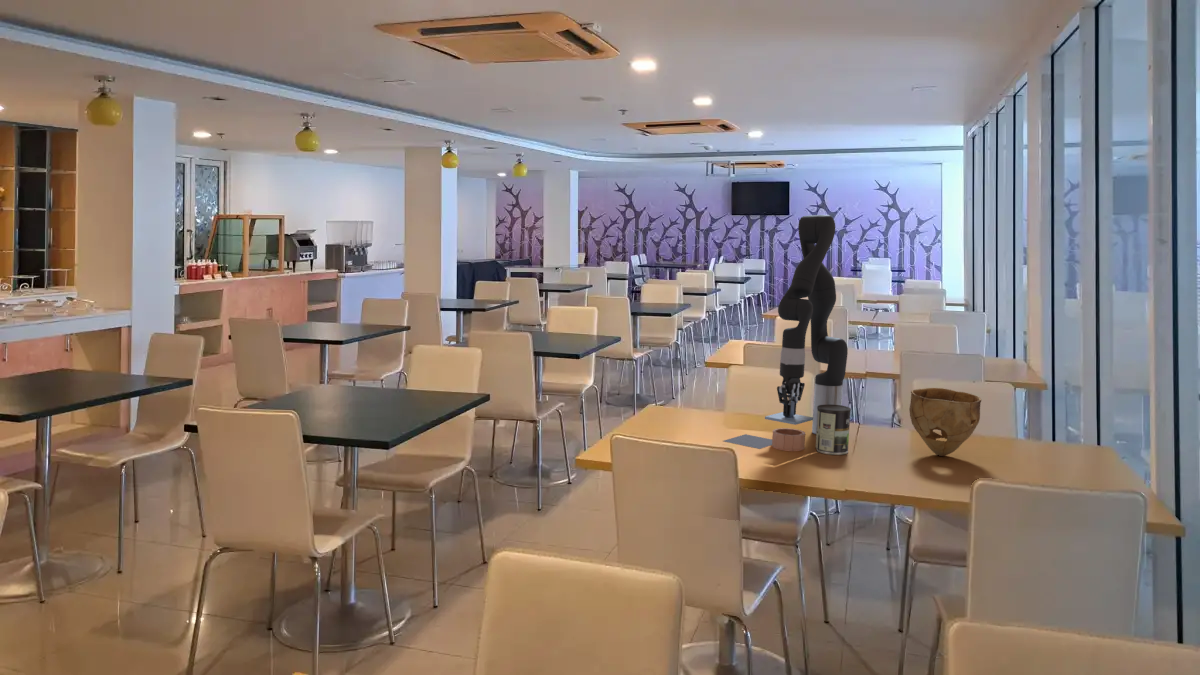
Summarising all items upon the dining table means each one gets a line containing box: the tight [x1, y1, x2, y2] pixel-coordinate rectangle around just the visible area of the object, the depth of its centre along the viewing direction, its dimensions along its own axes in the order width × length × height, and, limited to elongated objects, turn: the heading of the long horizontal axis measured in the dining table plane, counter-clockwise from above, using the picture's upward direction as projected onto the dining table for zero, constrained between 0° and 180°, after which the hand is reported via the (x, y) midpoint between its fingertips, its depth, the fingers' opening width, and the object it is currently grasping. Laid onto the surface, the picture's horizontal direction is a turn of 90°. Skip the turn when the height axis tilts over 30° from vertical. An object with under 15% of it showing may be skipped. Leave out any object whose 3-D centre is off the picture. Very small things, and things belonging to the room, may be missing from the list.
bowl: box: [908, 387, 982, 457], centre depth 292 cm, size 21×20×20 cm
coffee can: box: [815, 404, 852, 456], centre depth 295 cm, size 10×10×14 cm
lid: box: [764, 401, 813, 426], centre depth 295 cm, size 11×11×6 cm
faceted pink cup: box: [771, 427, 806, 452], centre depth 296 cm, size 10×10×6 cm
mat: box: [723, 433, 772, 450], centre depth 303 cm, size 14×14×1 cm
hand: (789, 415), depth 295 cm, fingers closed on lid, 2 cm apart
